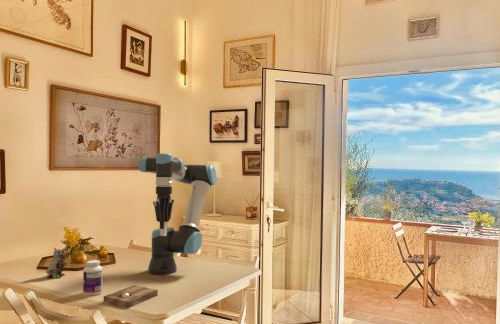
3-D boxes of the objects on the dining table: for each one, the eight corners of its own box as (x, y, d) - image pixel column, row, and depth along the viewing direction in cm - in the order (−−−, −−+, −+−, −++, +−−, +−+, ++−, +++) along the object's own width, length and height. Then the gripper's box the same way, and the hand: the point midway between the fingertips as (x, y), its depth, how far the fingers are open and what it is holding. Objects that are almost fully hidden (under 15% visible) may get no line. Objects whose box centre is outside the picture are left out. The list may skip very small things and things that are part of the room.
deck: (103, 302, 175) (103, 296, 175) (133, 290, 191) (133, 285, 191) (128, 308, 169) (128, 301, 169) (157, 295, 185) (157, 289, 185)
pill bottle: (86, 290, 190) (86, 259, 190) (104, 290, 191) (104, 259, 191) (80, 296, 182) (80, 263, 182) (99, 296, 183) (99, 263, 183)
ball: (118, 297, 175) (122, 290, 178) (122, 302, 177) (126, 295, 180) (124, 299, 174) (128, 291, 176) (128, 303, 176) (132, 296, 178)
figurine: (57, 273, 218) (57, 244, 218) (69, 275, 214) (69, 246, 214) (42, 277, 210) (43, 247, 210) (55, 279, 206) (55, 249, 206)
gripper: (161, 186, 189) (160, 238, 190) (178, 185, 201) (178, 234, 201) (148, 186, 193) (147, 236, 193) (166, 184, 204) (165, 232, 205)
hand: (163, 235), depth 197 cm, fingers closed
